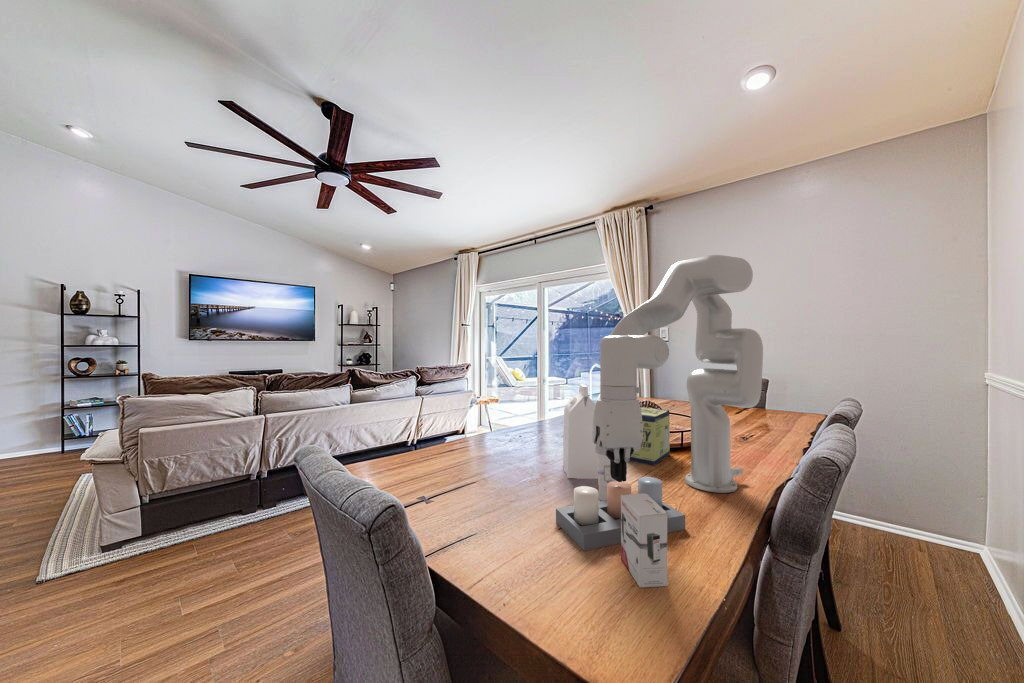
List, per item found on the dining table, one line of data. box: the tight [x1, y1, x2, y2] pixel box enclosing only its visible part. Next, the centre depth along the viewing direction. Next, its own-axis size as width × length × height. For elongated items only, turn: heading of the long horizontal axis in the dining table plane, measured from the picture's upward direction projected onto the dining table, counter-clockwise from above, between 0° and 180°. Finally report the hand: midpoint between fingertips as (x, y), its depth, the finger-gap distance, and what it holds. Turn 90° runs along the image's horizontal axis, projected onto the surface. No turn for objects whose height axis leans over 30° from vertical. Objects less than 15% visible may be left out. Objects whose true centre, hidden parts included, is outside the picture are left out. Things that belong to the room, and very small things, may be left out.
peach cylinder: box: [607, 481, 632, 520], centre depth 80 cm, size 5×5×6 cm
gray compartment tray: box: [555, 500, 686, 552], centre depth 80 cm, size 24×12×3 cm, turn 109°
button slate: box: [637, 476, 663, 508], centre depth 83 cm, size 5×5×6 cm
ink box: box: [620, 493, 668, 588], centre depth 64 cm, size 9×5×12 cm, turn 5°
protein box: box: [628, 406, 671, 466], centre depth 127 cm, size 10×16×16 cm
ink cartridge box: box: [597, 453, 616, 501], centre depth 97 cm, size 9×5×15 cm, turn 168°
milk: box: [562, 383, 598, 480], centre depth 114 cm, size 12×12×26 cm
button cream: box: [573, 485, 599, 526], centre depth 77 cm, size 5×5×6 cm
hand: (618, 479), depth 80 cm, fingers closed
